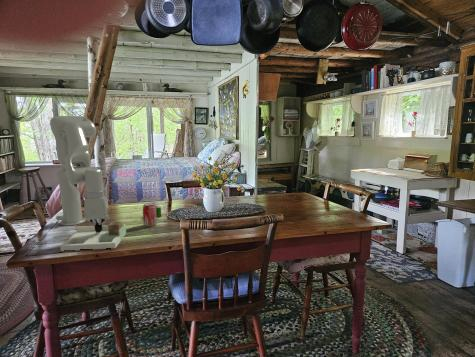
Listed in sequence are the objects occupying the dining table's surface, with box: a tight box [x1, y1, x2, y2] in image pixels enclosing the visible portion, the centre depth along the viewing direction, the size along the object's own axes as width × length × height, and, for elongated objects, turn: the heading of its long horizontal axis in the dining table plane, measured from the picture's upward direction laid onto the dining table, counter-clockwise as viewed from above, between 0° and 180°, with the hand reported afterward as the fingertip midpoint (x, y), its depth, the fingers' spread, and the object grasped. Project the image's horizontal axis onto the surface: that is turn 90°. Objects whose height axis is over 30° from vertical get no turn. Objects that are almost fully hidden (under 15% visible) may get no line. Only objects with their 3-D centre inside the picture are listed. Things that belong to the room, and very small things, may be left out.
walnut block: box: [107, 221, 123, 235], centre depth 147 cm, size 5×5×5 cm
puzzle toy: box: [155, 204, 162, 218], centre depth 183 cm, size 6×6×6 cm
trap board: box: [60, 223, 127, 252], centre depth 143 cm, size 23×19×5 cm
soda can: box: [142, 202, 158, 227], centre depth 166 cm, size 7×7×12 cm
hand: (98, 231), depth 147 cm, fingers closed
